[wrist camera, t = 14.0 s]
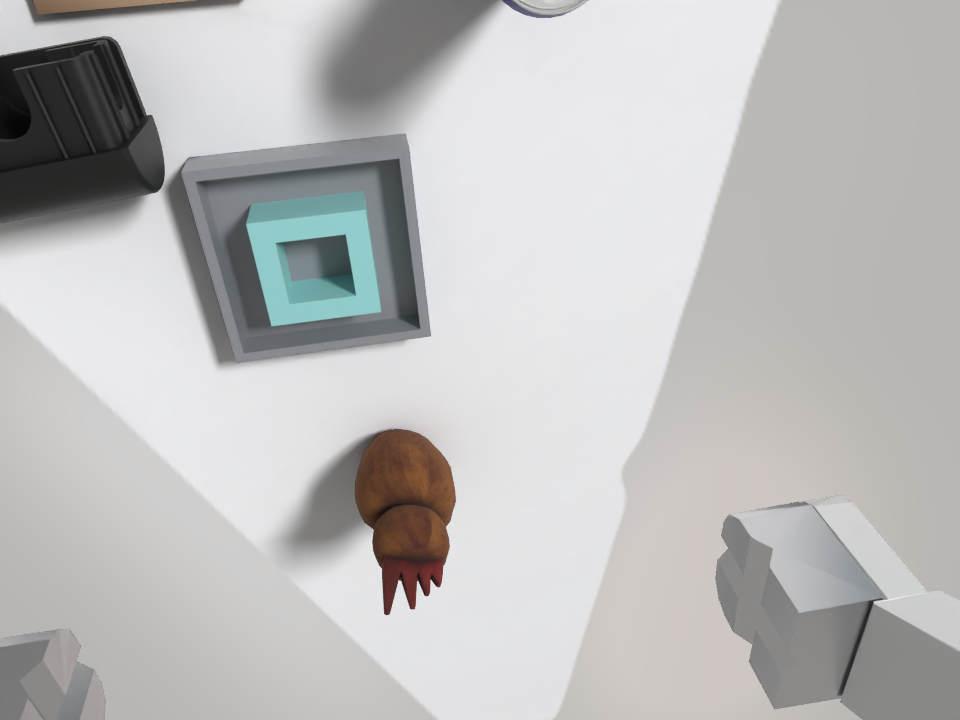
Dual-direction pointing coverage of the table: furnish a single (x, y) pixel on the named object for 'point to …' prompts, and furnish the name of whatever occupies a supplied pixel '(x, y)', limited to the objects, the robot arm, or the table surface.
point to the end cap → (73, 130)
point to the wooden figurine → (406, 510)
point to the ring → (306, 222)
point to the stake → (90, 4)
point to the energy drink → (544, 7)
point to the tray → (311, 240)
